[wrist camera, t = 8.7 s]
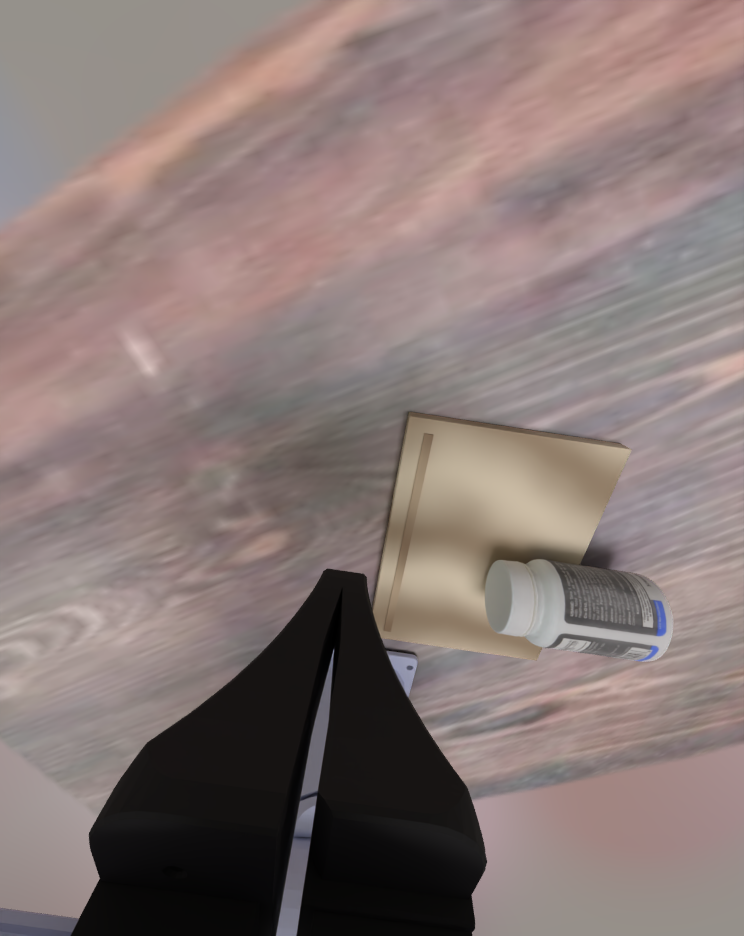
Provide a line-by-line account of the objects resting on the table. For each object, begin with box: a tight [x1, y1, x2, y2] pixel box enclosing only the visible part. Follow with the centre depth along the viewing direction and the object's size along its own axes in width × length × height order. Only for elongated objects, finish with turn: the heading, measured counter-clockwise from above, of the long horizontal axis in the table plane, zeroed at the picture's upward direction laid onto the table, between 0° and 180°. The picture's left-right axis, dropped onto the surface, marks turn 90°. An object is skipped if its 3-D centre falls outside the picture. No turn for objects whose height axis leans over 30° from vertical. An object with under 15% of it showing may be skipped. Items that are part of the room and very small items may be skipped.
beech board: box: [372, 412, 631, 661], centre depth 23 cm, size 16×12×1 cm
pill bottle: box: [485, 559, 673, 662], centre depth 20 cm, size 5×5×8 cm
